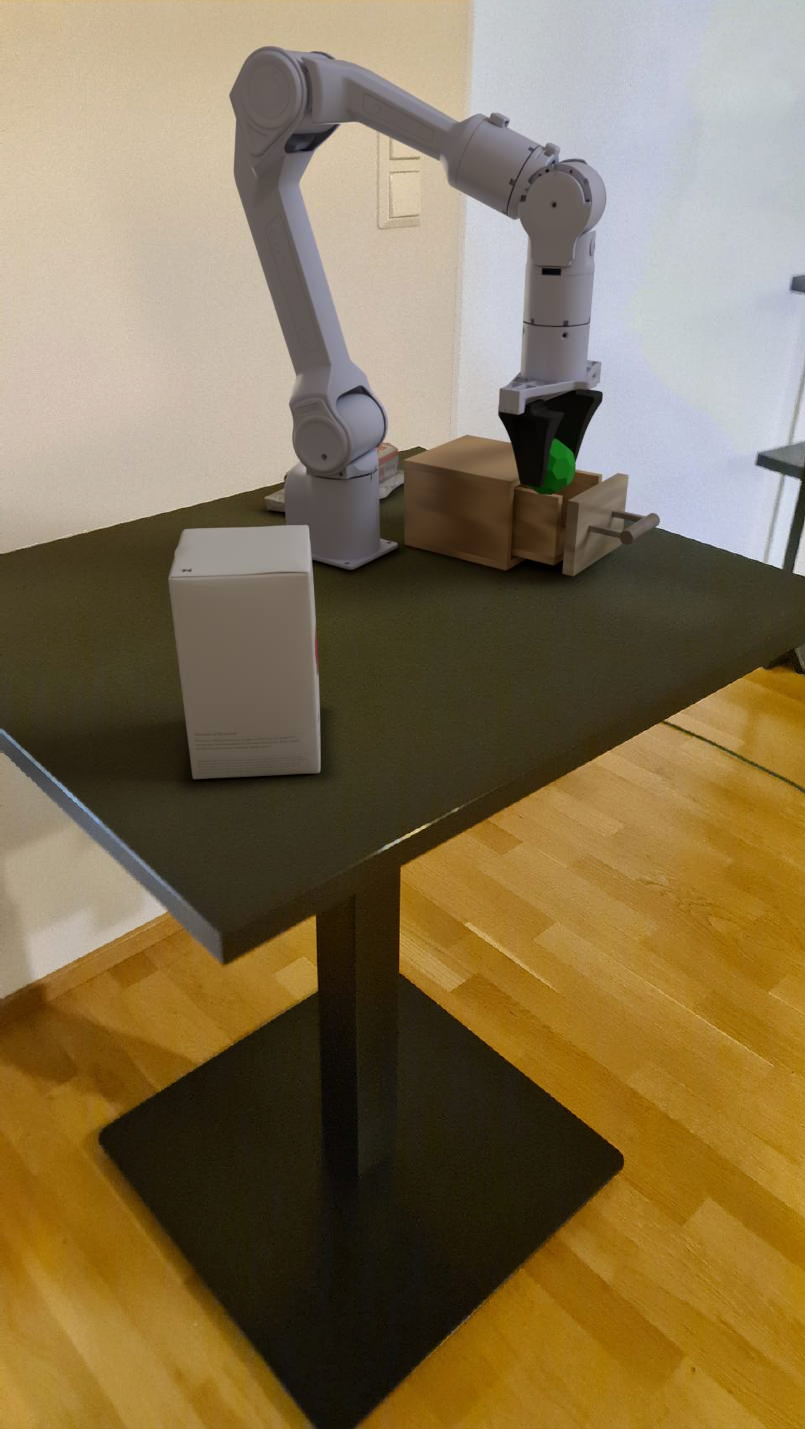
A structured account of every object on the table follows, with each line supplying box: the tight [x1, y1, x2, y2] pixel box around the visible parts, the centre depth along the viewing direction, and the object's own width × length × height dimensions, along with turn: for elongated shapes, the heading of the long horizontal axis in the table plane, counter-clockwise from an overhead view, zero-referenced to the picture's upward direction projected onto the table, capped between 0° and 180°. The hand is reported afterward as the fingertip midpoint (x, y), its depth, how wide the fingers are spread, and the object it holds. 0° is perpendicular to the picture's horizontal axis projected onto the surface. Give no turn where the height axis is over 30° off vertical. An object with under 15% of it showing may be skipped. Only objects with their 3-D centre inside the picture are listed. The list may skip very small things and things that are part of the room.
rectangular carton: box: [167, 524, 322, 780], centre depth 70 cm, size 9×9×15 cm
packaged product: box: [263, 441, 404, 513], centre depth 121 cm, size 18×5×10 cm
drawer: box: [511, 469, 661, 577], centre depth 101 cm, size 16×10×7 cm, turn 53°
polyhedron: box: [529, 439, 577, 495], centre depth 94 cm, size 5×5×5 cm
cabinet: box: [403, 434, 527, 571], centre depth 106 cm, size 13×12×9 cm
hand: (546, 477), depth 94 cm, fingers closed on polyhedron, 5 cm apart
